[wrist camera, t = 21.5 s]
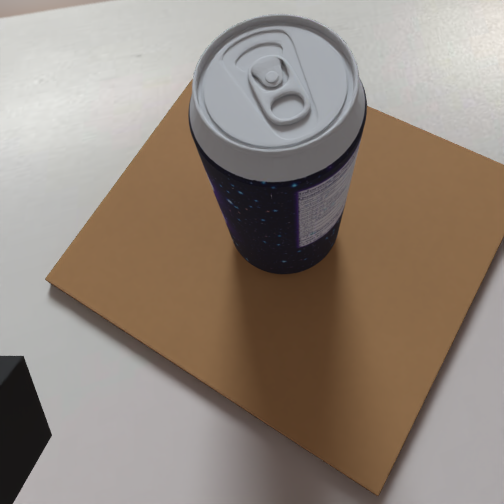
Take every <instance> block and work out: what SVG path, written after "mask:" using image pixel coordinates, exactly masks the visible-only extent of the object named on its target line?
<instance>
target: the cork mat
mask: <svg viewBox="0 0 504 504" xmlns="http://www.w3.org/2000/svg"><path fill="white" fill-rule="evenodd" d="M192 81H193V79H192V80H191V82H190V83H189V84H188V86H187V87H186V88H185V90H184V91H183V92H182V94H181V95H180V96H179V98H178V99H177V101H176V102H175V103H174V105H173V106H172V107H171V109H170V110H169V111H168V113H167V114H166V116H165V117H164V118H163V120H162V121H161V122H160V124H159V125H158V126H157V128H156V129H155V130H154V132H153V133H152V135H151V136H150V137H149V139H148V140H147V141H146V143H145V144H144V145H143V147H142V148H141V149H140V151H139V152H138V154H137V155H136V156H135V158H134V159H133V160H132V162H131V163H130V164H129V166H128V167H127V168H126V170H125V171H124V173H123V174H122V175H121V177H120V178H119V179H118V181H117V182H116V183H115V185H114V186H113V187H112V189H111V190H110V192H109V193H108V194H107V196H106V197H105V198H104V200H103V201H102V202H101V204H100V205H99V206H98V208H97V209H96V211H95V212H94V213H93V215H92V216H91V217H90V219H89V220H88V221H87V223H86V224H85V225H84V227H83V228H82V230H81V231H80V232H79V234H78V235H77V236H76V238H75V239H74V240H73V242H72V243H71V244H70V246H69V247H68V249H67V250H66V251H65V253H64V254H63V255H62V257H61V258H60V259H59V261H58V262H57V263H56V265H55V266H54V268H53V269H52V270H51V272H50V273H49V274H48V276H47V277H46V278H45V280H46V281H48V282H49V283H51V284H52V285H54V286H55V287H57V288H58V289H60V290H61V291H63V292H65V293H66V294H68V295H69V296H71V297H72V298H74V299H75V300H77V301H78V302H80V303H81V304H83V305H85V306H86V307H88V308H89V309H91V310H92V311H94V312H95V313H97V314H98V315H100V316H101V317H103V318H104V319H106V320H108V321H109V322H111V323H112V324H114V325H115V326H117V327H118V328H120V329H121V330H123V331H124V332H126V333H128V334H129V335H131V336H132V337H134V338H135V339H137V340H138V341H140V342H141V343H143V344H144V345H146V346H148V347H149V348H151V349H152V350H154V351H155V352H157V353H158V354H160V355H161V356H163V357H164V358H166V359H167V360H169V361H171V362H172V363H174V364H175V365H177V366H178V367H180V368H181V369H183V370H184V371H186V372H187V373H189V374H191V375H192V376H194V377H195V378H197V379H198V380H200V381H201V382H203V383H204V384H206V385H207V386H209V387H211V388H212V389H214V390H215V391H217V392H218V393H220V394H221V395H223V396H224V397H226V398H227V399H229V400H230V401H232V402H234V403H235V404H237V405H238V406H240V407H241V408H243V409H244V410H246V411H247V412H249V413H250V414H252V415H254V416H255V417H257V418H258V419H260V420H261V421H263V422H264V423H266V424H267V425H269V426H270V427H272V428H273V429H275V430H277V431H278V432H280V433H281V434H283V435H284V436H286V437H287V438H289V439H290V440H292V441H293V442H295V443H297V444H298V445H300V446H301V447H303V448H304V449H306V450H307V451H309V452H310V453H312V454H313V455H315V456H317V457H318V458H320V459H321V460H323V461H324V462H326V463H327V464H329V465H330V466H332V467H333V468H335V469H336V470H338V471H340V472H341V473H343V474H344V475H346V476H347V477H349V478H350V479H352V480H353V481H355V482H356V483H358V484H360V485H361V486H363V487H364V488H366V489H367V490H369V491H370V492H372V493H373V494H375V495H376V496H379V494H380V492H381V490H382V488H383V486H384V484H385V482H386V480H387V478H388V476H389V473H390V471H391V469H392V467H393V465H394V463H395V461H396V459H397V457H398V455H399V453H400V451H401V449H402V447H403V444H404V442H405V440H406V438H407V436H408V434H409V432H410V430H411V428H412V426H413V424H414V422H415V420H416V418H417V415H418V413H419V411H420V409H421V407H422V405H423V403H424V401H425V399H426V397H427V395H428V393H429V391H430V389H431V386H432V384H433V382H434V380H435V378H436V376H437V374H438V372H439V370H440V368H441V366H442V364H443V362H444V360H445V357H446V355H447V353H448V351H449V349H450V347H451V345H452V343H453V341H454V339H455V337H456V335H457V333H458V331H459V328H460V326H461V324H462V322H463V320H464V318H465V316H466V314H467V312H468V310H469V308H470V306H471V304H472V302H473V299H474V297H475V295H476V293H477V291H478V289H479V287H480V285H481V283H482V281H483V279H484V277H485V275H486V273H487V270H488V268H489V266H490V264H491V262H492V260H493V258H494V256H495V254H496V252H497V250H498V248H499V246H500V244H501V241H502V239H503V237H504V165H503V164H501V163H498V162H496V161H494V160H491V159H489V158H487V157H485V156H482V155H480V154H478V153H475V152H473V151H471V150H468V149H466V148H464V147H461V146H459V145H457V144H454V143H452V142H450V141H447V140H445V139H443V138H440V137H438V136H436V135H434V134H431V133H429V132H427V131H424V130H422V129H420V128H417V127H415V126H413V125H410V124H408V123H406V122H403V121H401V120H399V119H396V118H394V117H392V116H389V115H387V114H385V113H383V112H380V111H378V110H376V109H373V108H371V107H369V106H367V115H366V121H365V125H364V129H363V133H362V138H361V142H360V146H359V150H358V154H357V158H356V162H355V166H354V170H353V174H352V178H351V182H350V186H349V190H348V194H347V198H346V203H345V207H344V211H343V215H342V219H341V223H340V227H339V231H338V235H337V238H336V241H335V243H334V245H333V247H332V249H331V250H330V252H329V253H328V254H327V255H326V256H325V258H324V259H322V260H321V261H320V262H319V263H318V264H316V265H315V266H313V267H311V268H309V269H307V270H304V271H302V272H298V273H293V274H274V273H269V272H266V271H263V270H261V269H258V268H256V267H255V266H253V265H251V264H250V263H249V262H248V261H246V260H245V259H244V258H243V257H242V256H241V254H240V253H239V252H238V250H237V249H236V247H235V245H234V243H233V240H232V238H231V235H230V232H229V230H228V227H227V225H226V222H225V220H224V217H223V215H222V212H221V209H220V207H219V204H218V202H217V199H216V197H215V194H214V191H213V189H212V186H211V184H210V181H209V179H208V176H207V174H206V171H205V168H204V166H203V163H202V161H201V158H200V156H199V153H198V151H197V148H196V145H195V143H194V140H193V138H192V135H191V131H190V127H189V119H188V111H189V103H190V99H191V95H192Z"/></svg>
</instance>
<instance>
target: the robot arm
mask: <svg viewBox="0 0 504 504" xmlns="http://www.w3.org/2000/svg"><path fill="white" fill-rule="evenodd" d="M51 436H52V434H51V431H50V428H49V426H48V423H47V420H46V417H45V414H44V412H43V409H42V406H41V403H40V401H39V398H38V395H37V392H36V389H35V387H34V384H33V381H32V378H31V376H30V373H29V370H28V367H27V365H26V362H25V359H24V356H0V504H13V502H14V501H15V499H16V497H17V495H18V494H19V492H20V490H21V488H22V487H23V485H24V483H25V481H26V480H27V478H28V476H29V474H30V473H31V471H32V469H33V467H34V466H35V464H36V462H37V460H38V459H39V457H40V455H41V453H42V452H43V450H44V448H45V446H46V445H47V443H48V441H49V439H50V438H51Z"/></svg>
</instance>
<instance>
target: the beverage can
mask: <svg viewBox="0 0 504 504" xmlns="http://www.w3.org/2000/svg"><path fill="white" fill-rule="evenodd" d="M366 115H367V101H366V94H365V90H364V87H363V84H362V82H361V80H360V78H359V71H358V67H357V63H356V60H355V58H354V56H353V53H352V51H351V50H350V48H349V47H348V45H347V44H346V42H345V41H344V40H343V39H342V38H341V37H340V36H339V35H338V34H337V33H335V32H334V31H333V30H331V29H330V28H329V27H327V26H325V25H323V24H321V23H319V22H317V21H315V20H312V19H309V18H306V17H301V16H297V15H288V14H271V15H264V16H258V17H255V18H251V19H248V20H245V21H243V22H240V23H238V24H236V25H234V26H232V27H231V28H229V29H227V30H226V31H224V32H223V33H222V34H220V35H219V36H218V37H217V38H215V39H214V40H213V41H212V43H211V44H210V45H209V46H208V47H207V48H206V50H205V51H204V52H203V54H202V55H201V57H200V59H199V61H198V63H197V65H196V68H195V72H194V75H193V81H192V95H191V99H190V103H189V111H188V119H189V127H190V131H191V135H192V138H193V140H194V143H195V145H196V148H197V151H198V153H199V156H200V158H201V161H202V163H203V166H204V168H205V171H206V174H207V176H208V179H209V181H210V184H211V186H212V189H213V191H214V194H215V197H216V199H217V202H218V204H219V207H220V209H221V212H222V215H223V217H224V220H225V222H226V225H227V227H228V230H229V232H230V235H231V238H232V240H233V243H234V245H235V247H236V249H237V250H238V252H239V253H240V254H241V256H242V257H243V258H244V259H245V260H246V261H248V262H249V263H250V264H251V265H253V266H255V267H256V268H258V269H261V270H263V271H266V272H269V273H274V274H293V273H298V272H302V271H304V270H307V269H309V268H311V267H313V266H315V265H316V264H318V263H319V262H320V261H321V260H322V259H324V258H325V256H326V255H327V254H328V253H329V252H330V250H331V249H332V247H333V245H334V243H335V241H336V238H337V235H338V231H339V227H340V223H341V219H342V215H343V211H344V207H345V203H346V198H347V194H348V190H349V186H350V182H351V178H352V174H353V170H354V166H355V162H356V158H357V154H358V150H359V146H360V142H361V138H362V133H363V129H364V125H365V121H366Z"/></svg>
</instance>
